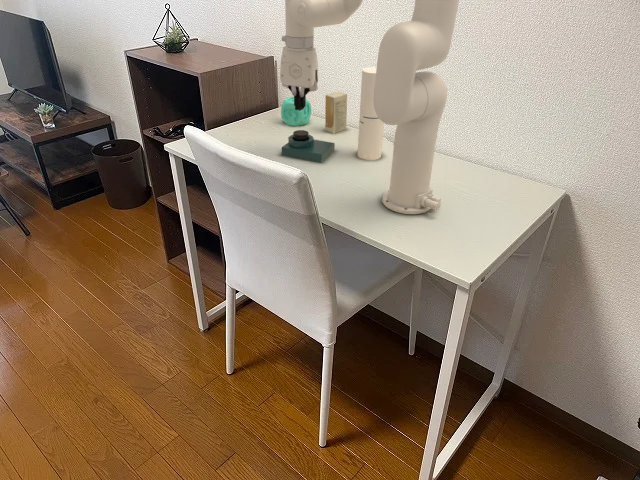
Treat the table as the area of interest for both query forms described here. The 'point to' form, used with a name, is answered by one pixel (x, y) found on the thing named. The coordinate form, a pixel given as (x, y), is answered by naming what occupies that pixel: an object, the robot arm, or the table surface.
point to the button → (300, 135)
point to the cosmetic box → (335, 112)
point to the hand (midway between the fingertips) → (299, 108)
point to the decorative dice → (295, 113)
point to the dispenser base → (308, 149)
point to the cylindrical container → (369, 119)
